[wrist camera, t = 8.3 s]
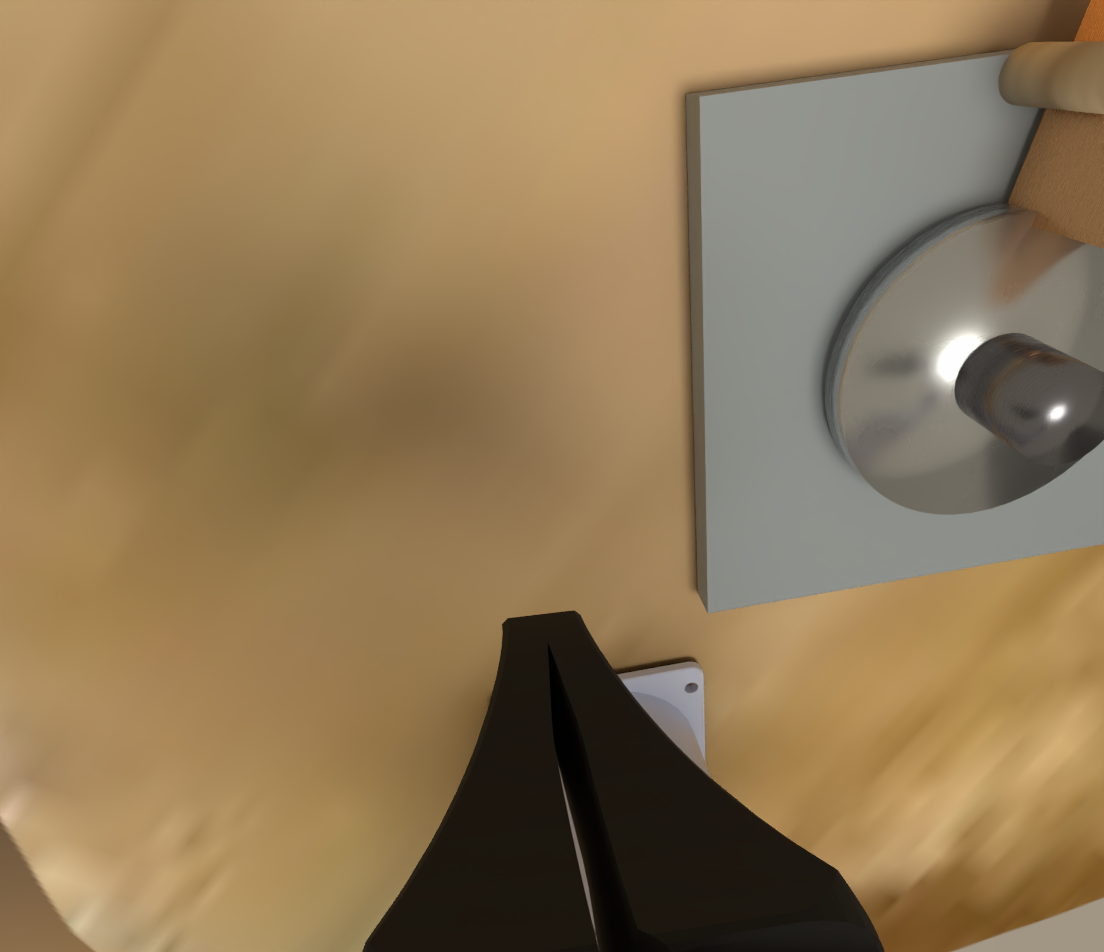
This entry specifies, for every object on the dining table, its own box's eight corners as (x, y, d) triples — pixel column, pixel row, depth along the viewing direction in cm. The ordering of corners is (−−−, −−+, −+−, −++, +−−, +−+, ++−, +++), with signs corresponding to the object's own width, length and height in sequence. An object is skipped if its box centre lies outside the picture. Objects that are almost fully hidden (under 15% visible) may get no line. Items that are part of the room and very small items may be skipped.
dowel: (1046, 101, 20) (1170, 112, 16) (994, 109, 19) (1107, 121, 16) (1058, 38, 19) (1190, 36, 16) (1004, 45, 19) (1124, 45, 15)
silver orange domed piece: (1038, 503, 25) (1132, 575, 22) (786, 485, 24) (845, 559, 20) (1290, 17, 19) (1479, 11, 16) (968, -55, 17) (1101, -81, 14)
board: (1173, 509, 28) (1202, 526, 27) (697, 591, 27) (707, 613, 26) (1347, 3, 20) (1395, 1, 19) (685, 93, 19) (699, 96, 18)
